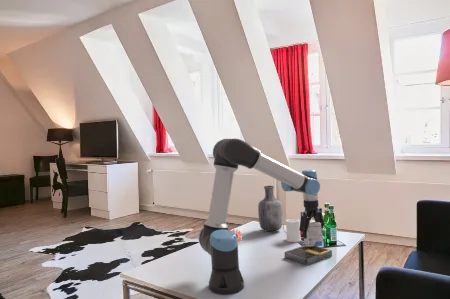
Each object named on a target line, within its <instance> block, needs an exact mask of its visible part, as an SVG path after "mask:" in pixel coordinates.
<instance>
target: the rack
mask: <svg viewBox="0 0 450 299" xmlns="http://www.w3.org/2000/svg"><path fill="white" fill-rule="evenodd" d="M331 257H333V250H331V249H328V248H324V247H322V246H309V247H306V246H305V245H302V246H299V247H296V248H293V249H290V250H286V251H284V258H285V259H287V260H290V261H293V262H295V263H297V264H298V263H299V264H301V265H304V266H309V265H311V264H316V263H317V262H320V261H323V260H326V259H329V258H331Z"/></svg>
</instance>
